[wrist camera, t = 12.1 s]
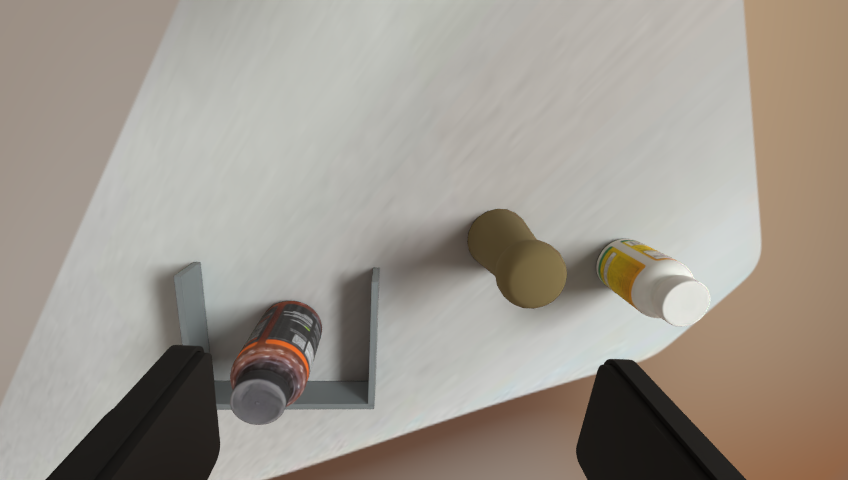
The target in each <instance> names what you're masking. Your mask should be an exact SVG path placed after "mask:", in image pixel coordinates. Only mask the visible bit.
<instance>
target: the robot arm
mask: <svg viewBox="0 0 848 480" xmlns="http://www.w3.org/2000/svg"><path fill="white" fill-rule="evenodd" d="M219 451H220V437H219V427H218V416H217V406H216V396H215V386H214V375H213V365H212V357H211V354H210V353H204V349H203V347H201V346H191V345H173V346H171V347H170V348H169V349H168V350H167V351H166V352H165V353H164V354H163V355H162V356H161V357H160V359H159V360H158V361H157V362H156V363H155V364H154V365H153V366H152V367H151V368H150V369H149V371H148V372H147V373H146V374H145V375H144V376H143V377H142V378H141V379H140V380H139V381H138V383H137V384H136V385H135V386H134V387H133V388H132V389H131V390H130V391H129V392H128V393H127V394H126V396H125V397H124V398H123V399H122V400H121V401H120V402H119V403H118V404H117V405H116V406H115V408H114V409H112V410H111V411H110V412H108V413H107V414H106V415H105V416H104V417H103V418H102V419H101V420H100V421H99V423H98V424H97V425H96V426H95V427H94V428H93V429H92V430H91V431H90V432H89V433H88V434H87V435H86V437H85V438H84V439H83V440H82V441H81V442H80V443H79V444H78V445H77V446H76V447H75V448H74V450H73V451H72V452H71V453H70V454H69V455H68V456H67V457H66V458H65V459H64V460H63V461H62V462H61V464H60V465H59V466H58V467H57V468H56V469H55V470H54V471H53V472H52V473H51V474H50V475H49V477H48V478H47V479H46V480H207V479H208V477H209V475H210V473H211V471H212V469H213V467H214V465H215V463H216V461H217V458H218V455H219ZM576 454H577V459H578V462H579V464H580V466H581V468H582V470H583V472H584V474H585V476H586V478H587V480H746V479H745V478H744V477H743V476H742V475H741V473H740V472H739V471H738V470H737V469H736V468H735V467H734V466H733V465H732V464H731V463H730V462H729V461H728V460H727V459H726V458H725V457H724V455H723V454H722V453H721V452H720V451H719V450H718V449H717V448H716V447H715V446H714V445H713V444H712V443H711V442H710V441H709V440H708V438H707V437H705V435H704V434H703V433H702V432H701V431H700V430H699V429H698V428H697V427H696V426H695V425H694V424H693V423H692V422H691V420H690V419H689V418H688V417H687V416H686V415H685V414H684V413H683V412H682V411H681V410H680V409H679V408H678V407H677V406H676V405H675V404H674V403H673V401H672V400H671V399H670V398H669V397H668V396H667V395H666V394H665V393H664V392H663V391H662V390H661V389H660V388H659V387H658V386H657V385H656V384H655V382H654V381H653V380H652V379H651V378H650V377H649V376H648V375H647V374H646V373H645V372H644V371H643V370H642V369H641V368H640V367H639V365H638V364H637V363H636V362H634V361H633V360H624V359H609V360H607V361H606V362H605V363H604V365H601V366H600V367H599V368H598V371H597V375H596V378H595V382H594V385H593V389H592V393H591V396H590V400H589V403H588V407H587V411H586V414H585V418H584V421H583V425H582V429H581V432H580V436H579V439H578V443H577V448H576Z"/></svg>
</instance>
